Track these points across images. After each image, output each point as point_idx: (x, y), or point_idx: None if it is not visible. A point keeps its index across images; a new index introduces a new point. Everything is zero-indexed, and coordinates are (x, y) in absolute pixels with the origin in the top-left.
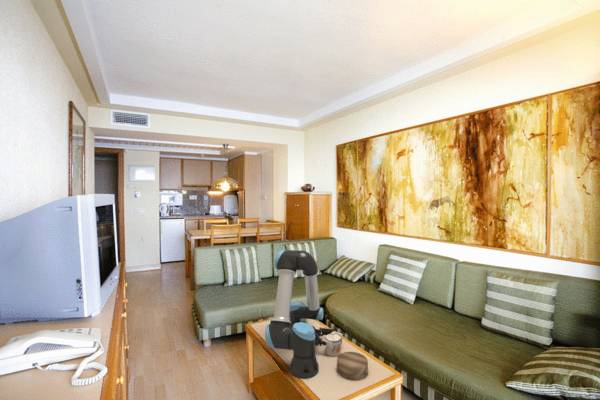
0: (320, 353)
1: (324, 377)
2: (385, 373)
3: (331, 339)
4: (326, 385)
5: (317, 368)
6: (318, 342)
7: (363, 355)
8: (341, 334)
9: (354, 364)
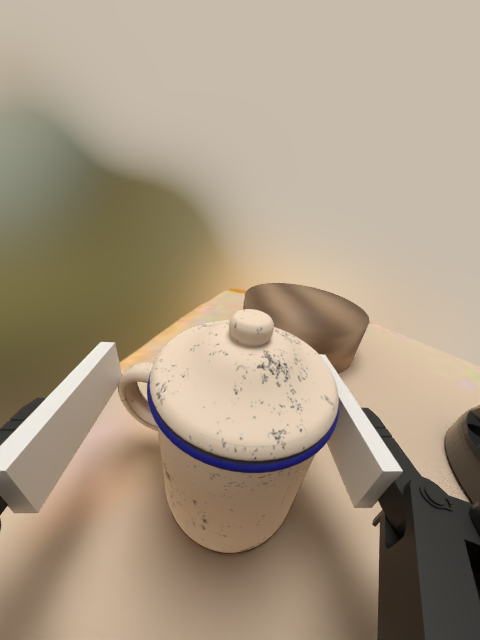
0: (337, 592)
1: (425, 386)
2: (236, 296)
3: (308, 348)
4: (431, 365)
5: (476, 406)
6: (474, 508)
7: (247, 290)
8: (110, 347)
9: (317, 296)
